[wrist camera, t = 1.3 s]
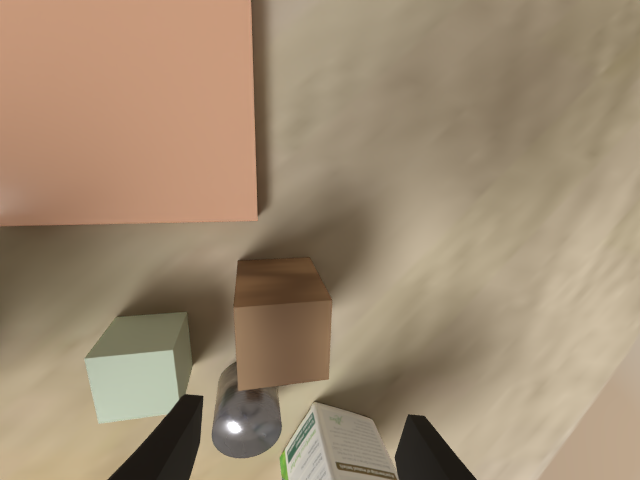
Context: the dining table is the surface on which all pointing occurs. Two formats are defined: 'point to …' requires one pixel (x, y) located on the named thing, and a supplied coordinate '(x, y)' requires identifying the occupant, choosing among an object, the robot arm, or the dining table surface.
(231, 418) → the grey metal cylinder
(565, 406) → the dining table surface
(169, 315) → the sage painted cube
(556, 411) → the dining table surface
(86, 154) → the terracotta tile
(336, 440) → the syrup box
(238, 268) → the walnut block
